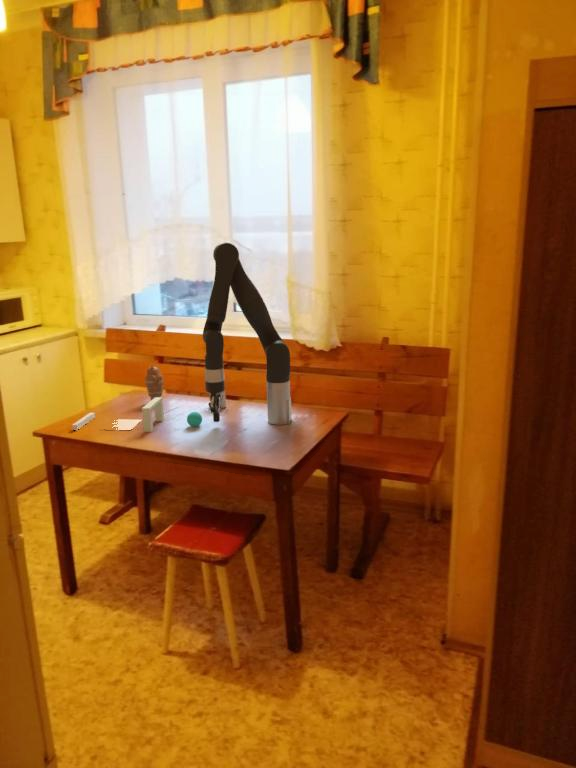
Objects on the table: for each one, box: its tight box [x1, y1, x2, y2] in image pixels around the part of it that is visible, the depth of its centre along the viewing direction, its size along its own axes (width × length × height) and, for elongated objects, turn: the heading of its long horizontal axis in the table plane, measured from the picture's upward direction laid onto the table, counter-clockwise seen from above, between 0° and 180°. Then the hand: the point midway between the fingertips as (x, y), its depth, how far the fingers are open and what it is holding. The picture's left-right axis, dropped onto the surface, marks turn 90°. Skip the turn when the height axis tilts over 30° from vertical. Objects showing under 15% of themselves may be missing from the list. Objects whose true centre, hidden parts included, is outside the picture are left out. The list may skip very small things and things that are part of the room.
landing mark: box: [112, 418, 143, 431], centre depth 244 cm, size 13×13×1 cm
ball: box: [186, 411, 203, 428], centre depth 239 cm, size 6×6×6 cm
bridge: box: [141, 396, 165, 433], centre depth 240 cm, size 3×15×10 cm, turn 172°
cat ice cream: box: [144, 363, 164, 401], centre depth 269 cm, size 9×8×18 cm
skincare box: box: [209, 389, 227, 409], centre depth 262 cm, size 6×4×12 cm
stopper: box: [71, 412, 96, 431], centre depth 245 cm, size 2×16×2 cm, turn 172°
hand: (216, 421), depth 237 cm, fingers closed
